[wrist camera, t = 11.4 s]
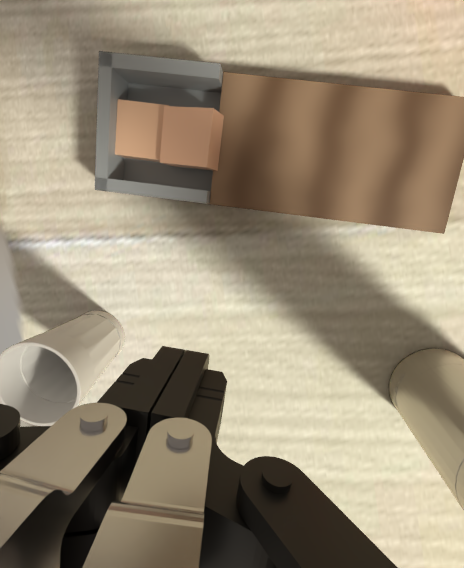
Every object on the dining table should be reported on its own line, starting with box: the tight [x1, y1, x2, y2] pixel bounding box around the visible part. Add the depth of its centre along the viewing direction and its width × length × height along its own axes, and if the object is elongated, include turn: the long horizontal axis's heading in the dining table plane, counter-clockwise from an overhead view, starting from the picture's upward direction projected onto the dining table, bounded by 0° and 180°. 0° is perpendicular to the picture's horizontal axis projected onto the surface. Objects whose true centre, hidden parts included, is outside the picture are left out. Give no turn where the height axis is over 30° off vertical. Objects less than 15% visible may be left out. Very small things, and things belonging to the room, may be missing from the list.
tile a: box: [160, 106, 224, 171], centre depth 33 cm, size 5×5×2 cm
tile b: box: [115, 99, 169, 162], centre depth 35 cm, size 5×5×2 cm
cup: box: [0, 311, 125, 426], centre depth 36 cm, size 8×8×12 cm
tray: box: [95, 51, 223, 204], centre depth 34 cm, size 11×12×4 cm
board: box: [210, 72, 464, 234], centre depth 34 cm, size 23×12×2 cm, turn 83°
